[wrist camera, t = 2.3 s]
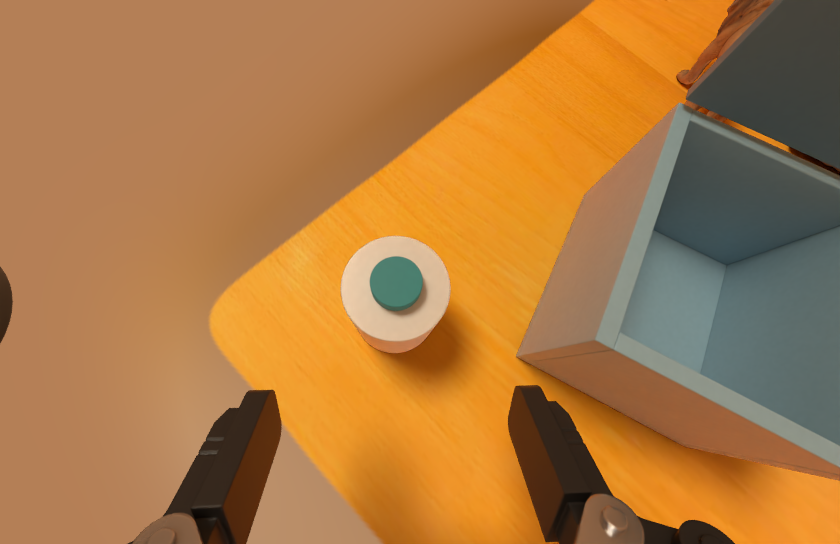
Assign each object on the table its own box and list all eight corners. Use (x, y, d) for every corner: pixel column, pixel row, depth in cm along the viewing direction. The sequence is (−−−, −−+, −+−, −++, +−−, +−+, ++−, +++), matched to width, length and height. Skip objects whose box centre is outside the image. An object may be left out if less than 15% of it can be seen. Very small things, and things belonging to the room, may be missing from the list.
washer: (684, 447, 22) (885, 491, 13) (515, 356, 23) (595, 340, 14) (728, 265, 26) (904, 204, 17) (584, 194, 27) (679, 101, 18)
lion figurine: (668, 39, 32) (767, -84, 24) (724, 58, 32) (844, -60, 24) (645, 165, 28) (757, 69, 19) (710, 188, 28) (852, 101, 19)
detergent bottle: (411, 368, 22) (420, 361, 15) (339, 328, 22) (314, 303, 15) (448, 297, 23) (472, 259, 16) (380, 261, 24) (374, 209, 17)
